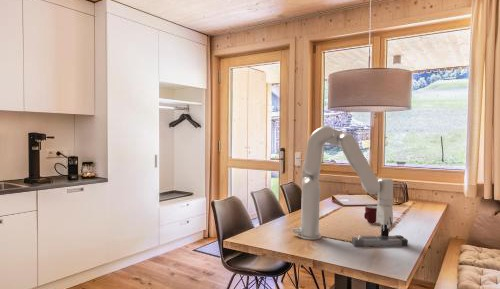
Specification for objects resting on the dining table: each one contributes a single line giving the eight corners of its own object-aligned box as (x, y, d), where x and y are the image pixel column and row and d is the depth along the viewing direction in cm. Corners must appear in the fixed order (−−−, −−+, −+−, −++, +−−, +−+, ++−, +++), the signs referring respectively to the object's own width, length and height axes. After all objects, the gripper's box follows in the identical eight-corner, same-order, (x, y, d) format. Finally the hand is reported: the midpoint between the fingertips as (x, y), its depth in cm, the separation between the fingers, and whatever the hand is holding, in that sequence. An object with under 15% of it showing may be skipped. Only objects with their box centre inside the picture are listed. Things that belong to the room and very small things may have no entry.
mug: (371, 226, 208) (372, 209, 207) (359, 223, 214) (360, 207, 213) (380, 223, 215) (381, 207, 214) (369, 220, 221) (369, 204, 220)
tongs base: (354, 246, 171) (355, 238, 171) (351, 243, 176) (351, 235, 176) (408, 246, 172) (408, 238, 172) (403, 243, 177) (403, 235, 177)
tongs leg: (362, 243, 176) (362, 237, 176) (360, 241, 179) (360, 235, 179) (403, 243, 177) (403, 237, 177) (400, 241, 180) (400, 235, 180)
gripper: (372, 199, 187) (371, 232, 188) (384, 205, 172) (384, 241, 173) (385, 199, 188) (385, 232, 189) (399, 205, 173) (398, 241, 174)
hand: (384, 236), depth 181 cm, fingers closed
